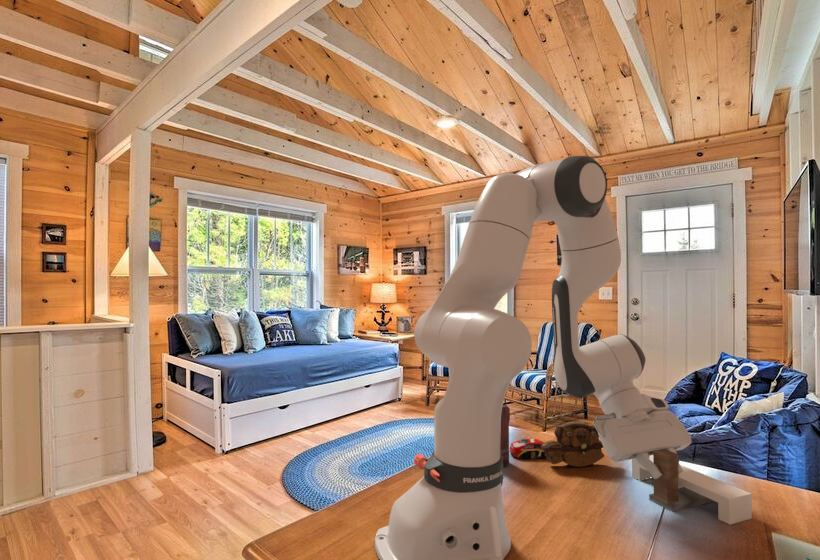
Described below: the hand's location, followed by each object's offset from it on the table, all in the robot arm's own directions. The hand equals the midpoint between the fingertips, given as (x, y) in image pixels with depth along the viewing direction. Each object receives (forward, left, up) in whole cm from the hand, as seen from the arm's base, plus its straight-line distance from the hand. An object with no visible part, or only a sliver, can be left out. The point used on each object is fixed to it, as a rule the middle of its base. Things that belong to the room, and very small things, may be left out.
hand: (669, 475), depth 85 cm
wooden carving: (-3, +22, -6) cm, 23 cm away
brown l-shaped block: (+4, +1, -6) cm, 7 cm away
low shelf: (+7, +2, -6) cm, 9 cm away
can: (-20, +30, -6) cm, 36 cm away
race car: (-8, +30, -6) cm, 32 cm away
